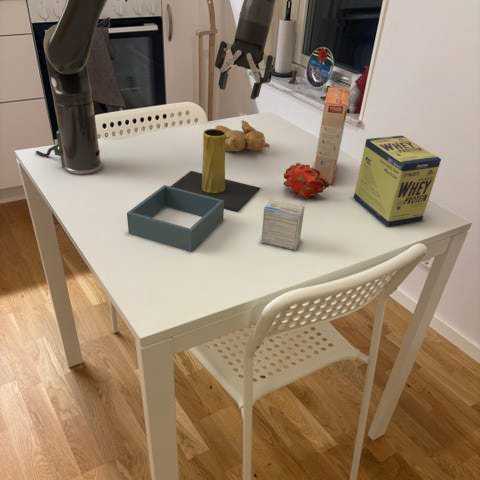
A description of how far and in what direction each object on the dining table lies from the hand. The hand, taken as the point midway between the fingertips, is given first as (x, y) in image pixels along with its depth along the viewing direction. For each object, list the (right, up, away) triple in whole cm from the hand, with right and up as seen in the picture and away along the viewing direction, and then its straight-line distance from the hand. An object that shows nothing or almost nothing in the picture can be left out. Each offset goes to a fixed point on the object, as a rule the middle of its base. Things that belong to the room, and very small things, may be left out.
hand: (237, 94), depth 128 cm
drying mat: (-6, -23, +3) cm, 24 cm away
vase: (-6, -23, +3) cm, 24 cm away
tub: (-13, -35, -12) cm, 40 cm away
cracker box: (+24, -16, +14) cm, 32 cm away
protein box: (+37, -29, 0) cm, 47 cm away
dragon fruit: (+17, -24, +4) cm, 30 cm away
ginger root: (+1, -6, +25) cm, 25 cm away
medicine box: (+10, -39, -15) cm, 43 cm away
